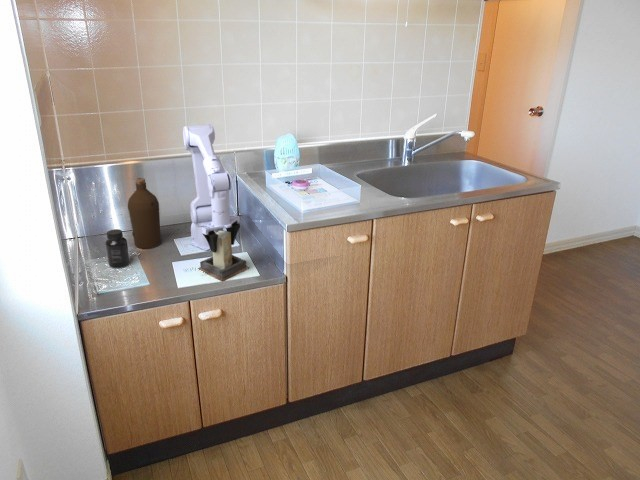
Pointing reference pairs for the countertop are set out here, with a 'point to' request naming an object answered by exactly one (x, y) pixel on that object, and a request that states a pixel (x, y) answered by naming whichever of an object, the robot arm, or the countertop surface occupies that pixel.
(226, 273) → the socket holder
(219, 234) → the skincare box
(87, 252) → the countertop surface
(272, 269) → the countertop surface
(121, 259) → the supplement bottle
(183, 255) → the countertop surface
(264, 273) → the countertop surface
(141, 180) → the olive oil
